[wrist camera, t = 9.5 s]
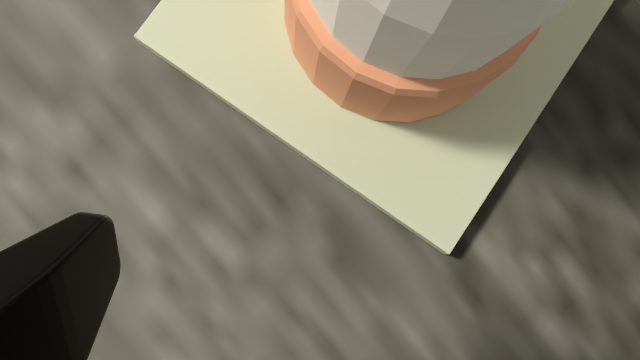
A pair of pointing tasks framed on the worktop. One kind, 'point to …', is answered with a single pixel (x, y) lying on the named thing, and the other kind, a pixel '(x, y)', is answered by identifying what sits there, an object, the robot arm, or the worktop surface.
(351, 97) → the pepper shaker
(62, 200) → the worktop surface
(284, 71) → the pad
